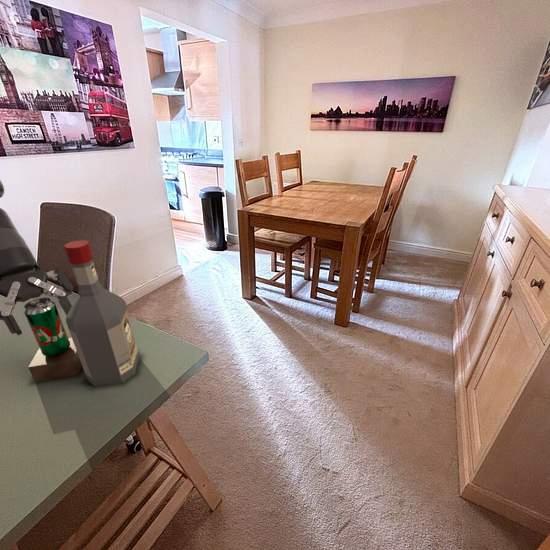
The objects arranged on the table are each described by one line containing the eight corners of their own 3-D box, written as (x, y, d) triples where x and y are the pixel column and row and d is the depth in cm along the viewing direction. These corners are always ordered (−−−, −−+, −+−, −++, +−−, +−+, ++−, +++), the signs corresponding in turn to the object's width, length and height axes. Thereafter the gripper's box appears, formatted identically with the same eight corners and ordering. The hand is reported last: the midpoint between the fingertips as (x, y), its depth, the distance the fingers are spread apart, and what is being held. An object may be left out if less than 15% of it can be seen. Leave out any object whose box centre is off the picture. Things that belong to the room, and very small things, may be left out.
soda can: (63, 339, 68) (45, 293, 62) (75, 347, 65) (58, 301, 60) (38, 352, 64) (16, 305, 58) (50, 361, 61) (29, 313, 56)
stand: (36, 385, 62) (27, 367, 60) (50, 358, 69) (42, 341, 67) (79, 377, 64) (73, 360, 62) (89, 352, 71) (83, 335, 69)
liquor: (85, 390, 61) (33, 256, 47) (99, 359, 69) (58, 236, 55) (133, 384, 63) (96, 252, 49) (141, 354, 71) (112, 233, 57)
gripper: (-44, 257, 54) (-1, 336, 53) (48, 237, 63) (86, 302, 62) (-37, 274, 59) (2, 346, 58) (47, 253, 69) (82, 314, 68)
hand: (45, 323), depth 60 cm, fingers open, 8 cm apart
